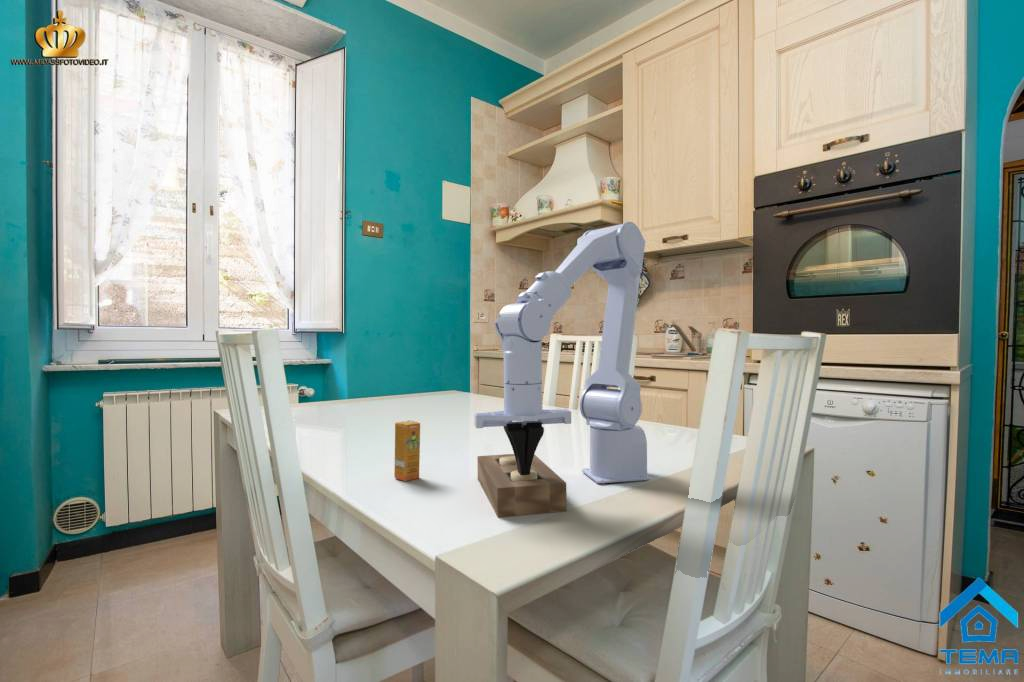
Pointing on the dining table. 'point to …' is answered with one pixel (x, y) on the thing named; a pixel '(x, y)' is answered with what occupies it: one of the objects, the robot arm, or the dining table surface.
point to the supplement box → (407, 450)
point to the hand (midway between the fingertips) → (523, 473)
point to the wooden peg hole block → (521, 488)
